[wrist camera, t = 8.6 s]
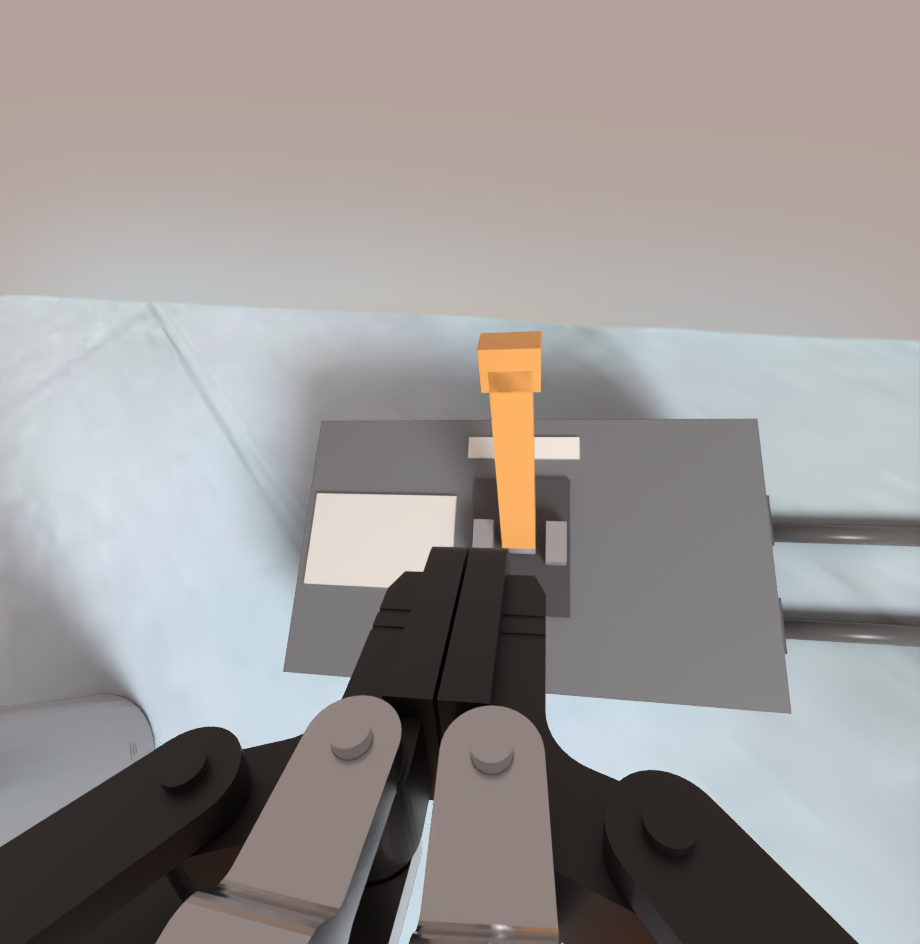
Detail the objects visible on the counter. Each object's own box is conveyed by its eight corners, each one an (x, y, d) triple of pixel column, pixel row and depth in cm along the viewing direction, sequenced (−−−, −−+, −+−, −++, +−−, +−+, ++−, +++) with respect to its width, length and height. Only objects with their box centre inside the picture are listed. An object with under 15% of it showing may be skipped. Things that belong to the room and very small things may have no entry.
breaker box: (351, 663, 36) (269, 673, 26) (374, 472, 40) (311, 411, 30) (1002, 714, 30) (1260, 756, 19) (949, 478, 34) (1135, 404, 23)
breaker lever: (497, 557, 26) (477, 350, 18) (499, 539, 27) (480, 333, 19) (541, 559, 26) (540, 348, 18) (542, 540, 27) (541, 331, 19)
